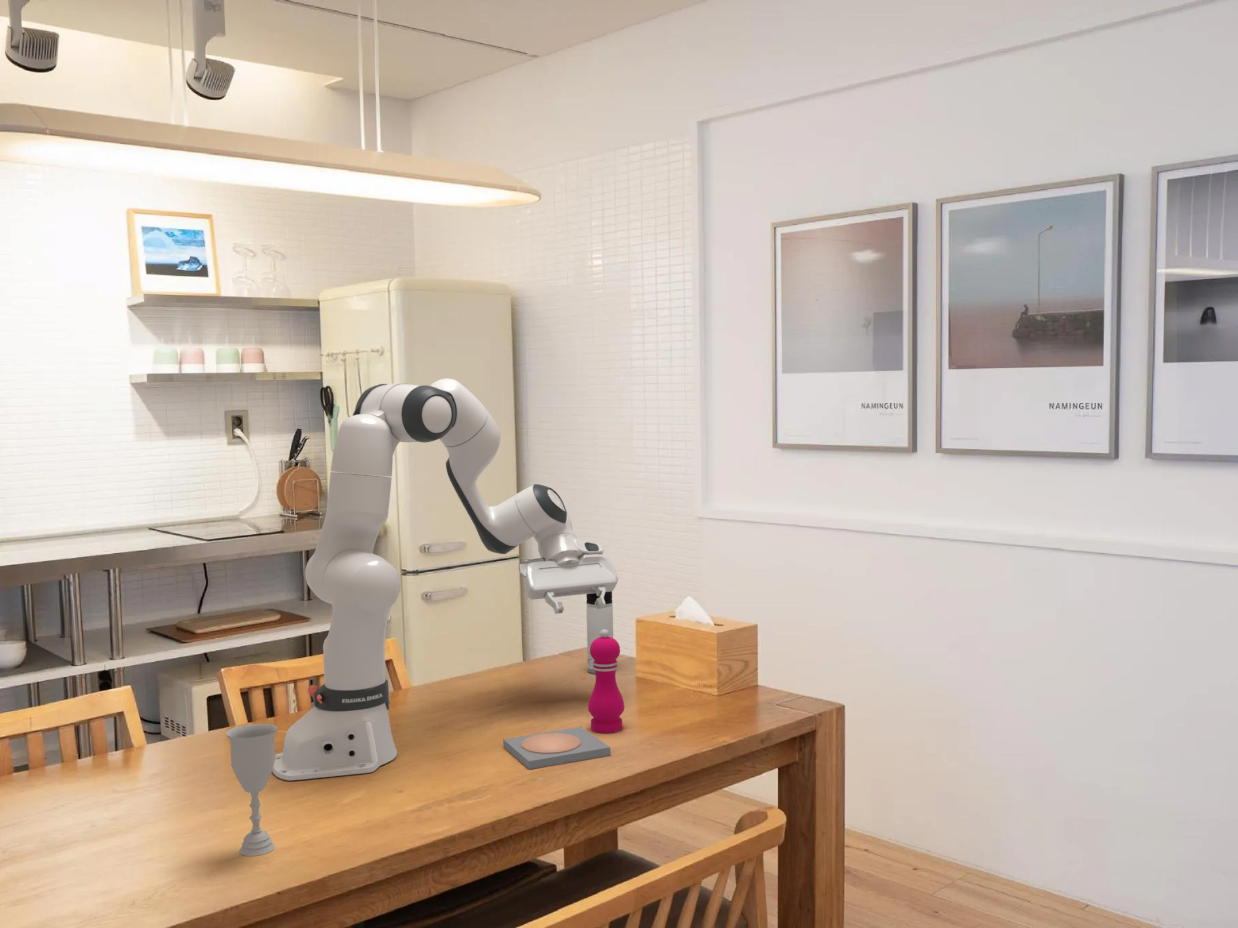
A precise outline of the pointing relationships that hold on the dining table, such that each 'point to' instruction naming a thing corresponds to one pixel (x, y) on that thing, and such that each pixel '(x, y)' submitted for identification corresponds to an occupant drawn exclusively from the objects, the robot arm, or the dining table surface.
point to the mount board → (556, 747)
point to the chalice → (253, 776)
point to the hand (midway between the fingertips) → (580, 609)
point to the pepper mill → (605, 686)
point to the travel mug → (598, 621)
